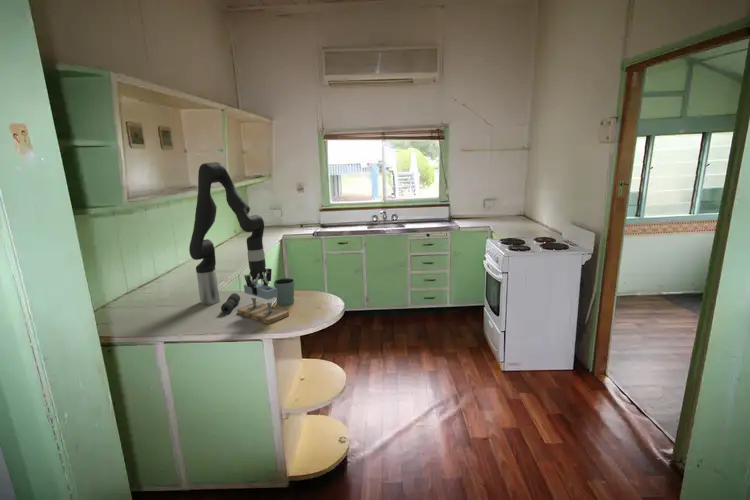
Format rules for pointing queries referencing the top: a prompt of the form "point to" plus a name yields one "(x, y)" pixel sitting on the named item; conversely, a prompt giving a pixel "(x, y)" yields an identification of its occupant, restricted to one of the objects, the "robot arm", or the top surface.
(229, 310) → the flashlight
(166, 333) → the top surface
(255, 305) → the mount board
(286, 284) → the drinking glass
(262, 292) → the blue-grey block with holes
